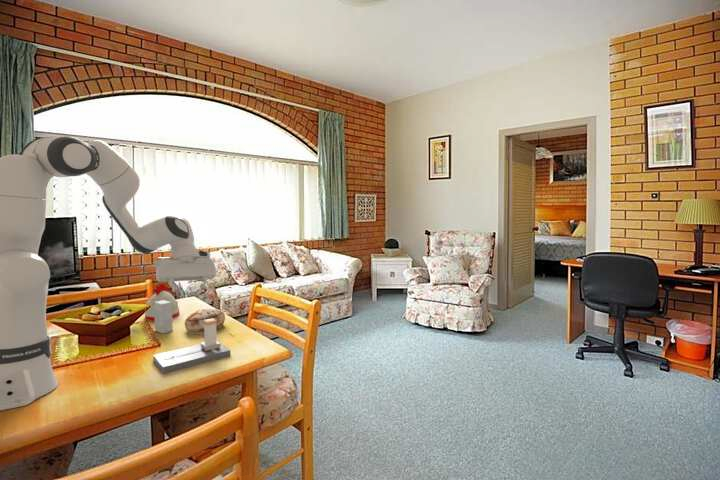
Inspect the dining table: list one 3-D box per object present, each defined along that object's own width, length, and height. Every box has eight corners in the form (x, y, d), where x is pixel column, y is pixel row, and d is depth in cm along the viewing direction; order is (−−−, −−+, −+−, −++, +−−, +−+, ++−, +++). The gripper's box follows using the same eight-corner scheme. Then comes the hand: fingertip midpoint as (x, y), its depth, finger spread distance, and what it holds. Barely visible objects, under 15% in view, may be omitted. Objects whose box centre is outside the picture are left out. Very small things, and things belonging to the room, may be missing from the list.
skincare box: (173, 330, 151) (172, 302, 150) (162, 333, 147) (161, 304, 146) (164, 328, 154) (163, 299, 153) (154, 330, 150) (153, 301, 149)
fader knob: (205, 350, 125) (205, 323, 124) (200, 346, 129) (200, 319, 128) (220, 347, 128) (220, 320, 127) (215, 343, 132) (214, 317, 131)
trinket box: (229, 323, 161) (228, 306, 160) (212, 335, 146) (211, 316, 145) (199, 322, 162) (199, 304, 162) (179, 334, 147) (179, 314, 147)
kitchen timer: (137, 319, 164) (136, 286, 163) (159, 310, 178) (158, 280, 177) (165, 321, 162) (164, 288, 161) (185, 312, 176) (184, 281, 174)
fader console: (163, 373, 113) (163, 366, 113) (153, 360, 122) (153, 354, 122) (230, 355, 127) (230, 349, 127) (217, 345, 136) (216, 339, 136)
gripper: (155, 253, 131) (159, 287, 125) (214, 252, 144) (220, 284, 138) (151, 262, 135) (155, 296, 129) (209, 261, 148) (215, 291, 142)
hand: (189, 290), depth 134 cm, fingers open, 8 cm apart
